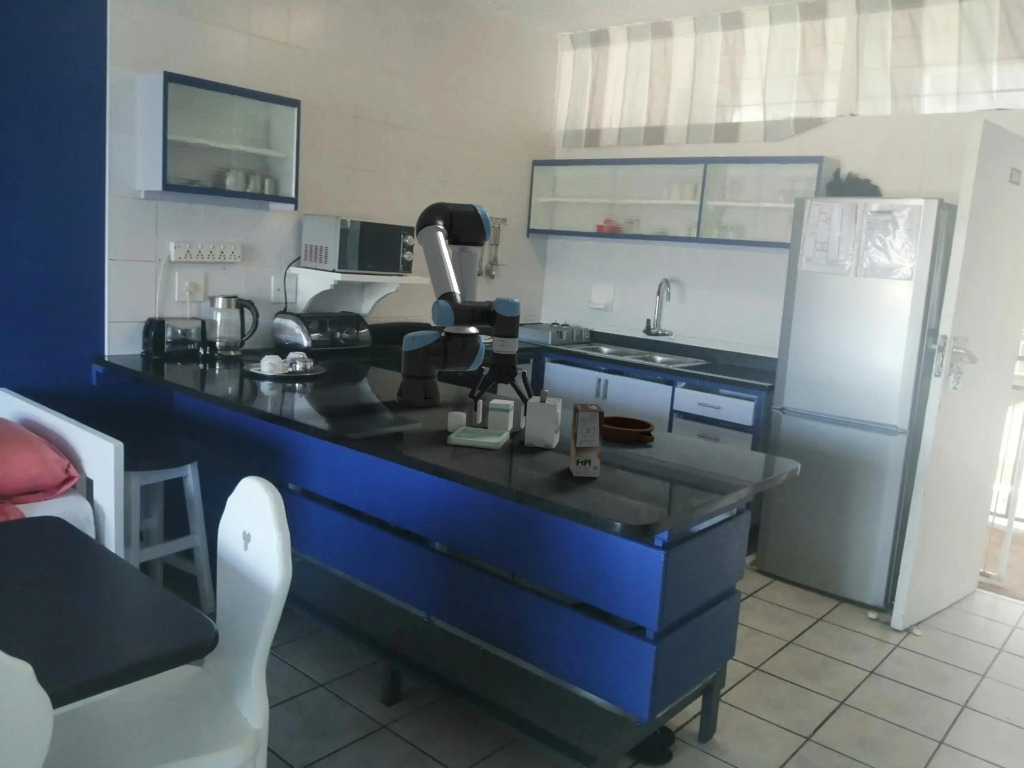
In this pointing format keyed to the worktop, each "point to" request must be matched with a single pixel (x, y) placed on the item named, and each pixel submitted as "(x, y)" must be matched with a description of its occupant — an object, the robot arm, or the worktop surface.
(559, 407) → the box
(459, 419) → the cream knob
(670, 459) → the worktop surface
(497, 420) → the block
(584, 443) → the coffee box
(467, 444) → the tray
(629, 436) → the dish
